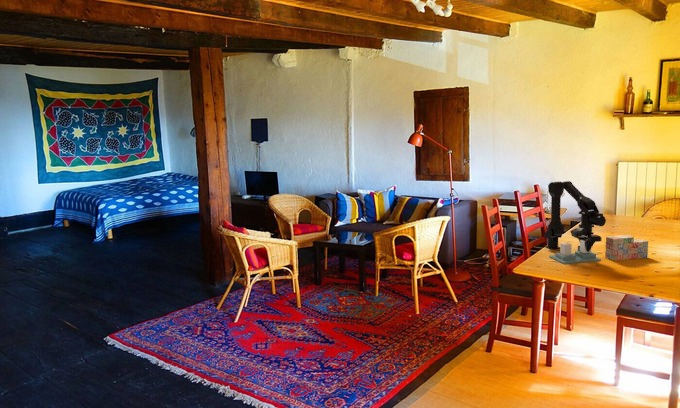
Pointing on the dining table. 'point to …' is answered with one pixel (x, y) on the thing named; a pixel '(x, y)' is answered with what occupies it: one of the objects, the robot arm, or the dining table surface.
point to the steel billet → (584, 247)
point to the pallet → (572, 255)
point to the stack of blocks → (625, 248)
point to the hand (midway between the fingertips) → (585, 250)
